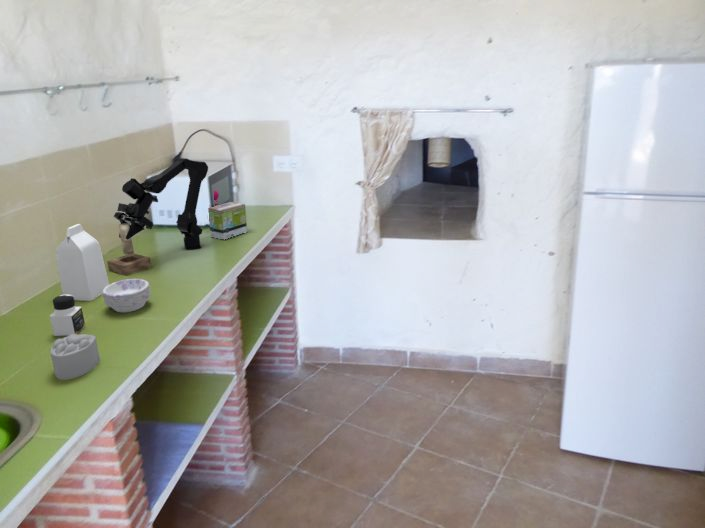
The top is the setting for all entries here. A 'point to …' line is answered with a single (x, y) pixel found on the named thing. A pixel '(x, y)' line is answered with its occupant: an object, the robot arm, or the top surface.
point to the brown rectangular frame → (129, 264)
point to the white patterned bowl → (127, 295)
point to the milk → (81, 265)
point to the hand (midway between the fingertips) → (123, 238)
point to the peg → (126, 243)
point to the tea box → (227, 220)
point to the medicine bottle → (66, 316)
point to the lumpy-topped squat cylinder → (74, 355)
